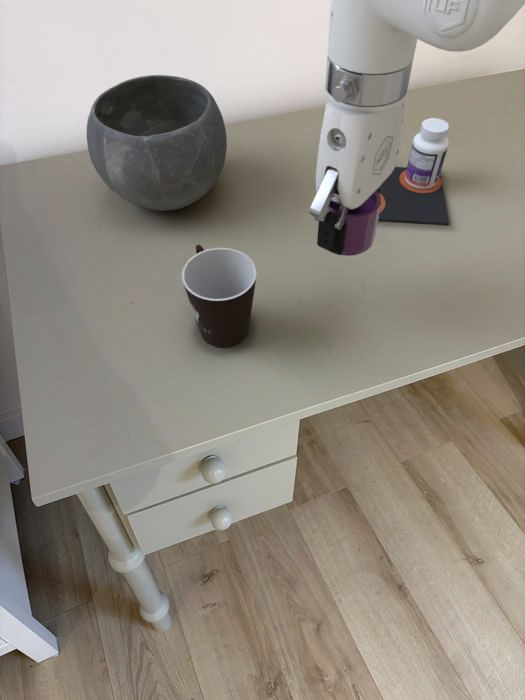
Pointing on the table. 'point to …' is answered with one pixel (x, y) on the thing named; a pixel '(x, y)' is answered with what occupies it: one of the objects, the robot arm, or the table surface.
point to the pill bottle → (427, 154)
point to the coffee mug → (220, 294)
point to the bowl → (157, 141)
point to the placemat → (411, 201)
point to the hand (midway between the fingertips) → (346, 230)
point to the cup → (359, 224)
